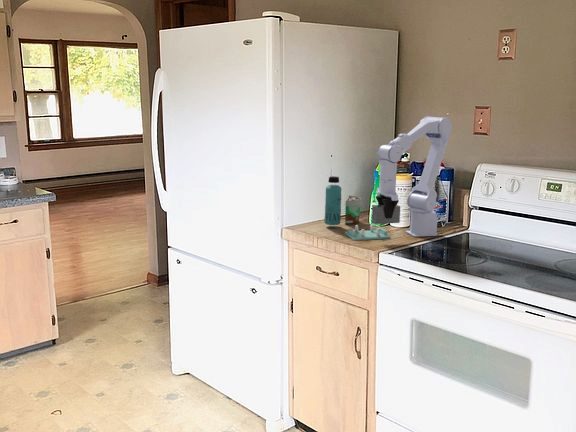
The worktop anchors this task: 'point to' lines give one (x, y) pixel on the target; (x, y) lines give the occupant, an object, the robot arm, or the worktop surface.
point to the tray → (367, 233)
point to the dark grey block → (379, 215)
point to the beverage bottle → (333, 202)
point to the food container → (352, 210)
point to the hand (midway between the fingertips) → (386, 216)
